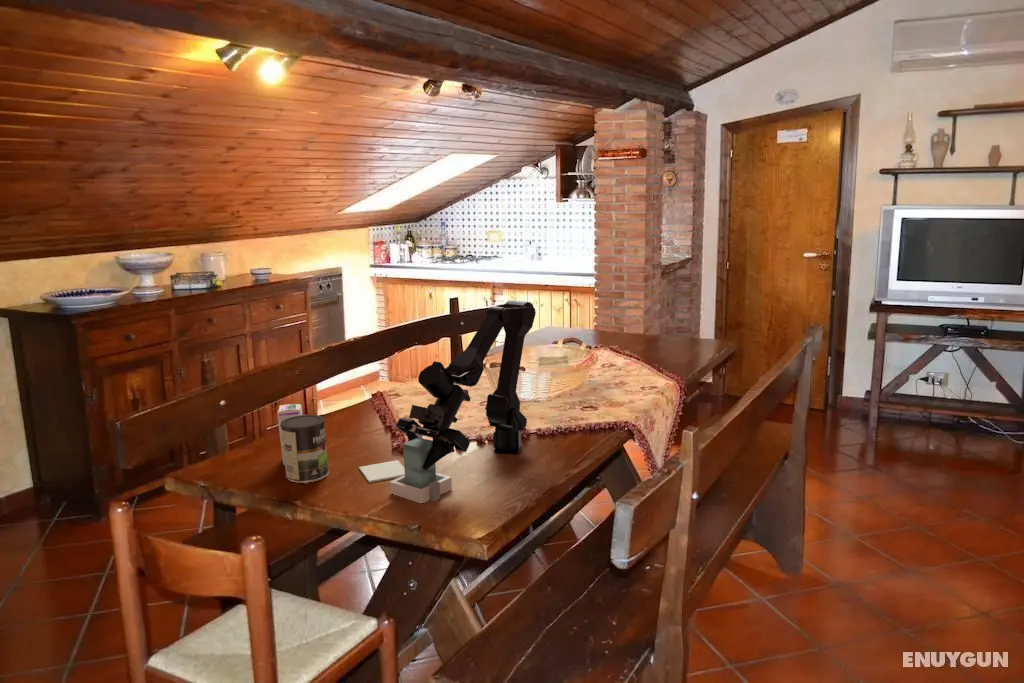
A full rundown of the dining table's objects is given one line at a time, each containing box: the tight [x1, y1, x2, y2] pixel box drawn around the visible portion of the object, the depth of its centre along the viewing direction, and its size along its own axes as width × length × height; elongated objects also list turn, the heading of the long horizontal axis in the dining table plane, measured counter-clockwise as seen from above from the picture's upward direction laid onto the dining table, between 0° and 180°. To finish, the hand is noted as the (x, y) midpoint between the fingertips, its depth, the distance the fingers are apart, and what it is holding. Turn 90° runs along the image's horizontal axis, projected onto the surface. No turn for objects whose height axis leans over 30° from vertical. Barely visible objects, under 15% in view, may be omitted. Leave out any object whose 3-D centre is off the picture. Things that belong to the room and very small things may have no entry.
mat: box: [358, 459, 405, 484], centre depth 194 cm, size 10×10×1 cm
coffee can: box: [280, 414, 330, 484], centre depth 192 cm, size 10×10×14 cm
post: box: [402, 437, 437, 489], centre depth 181 cm, size 5×5×12 cm
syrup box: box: [277, 403, 303, 466], centre depth 202 cm, size 6×6×14 cm
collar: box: [389, 472, 453, 505], centre depth 181 cm, size 10×11×4 cm
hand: (415, 466), depth 180 cm, fingers closed on post, 5 cm apart
